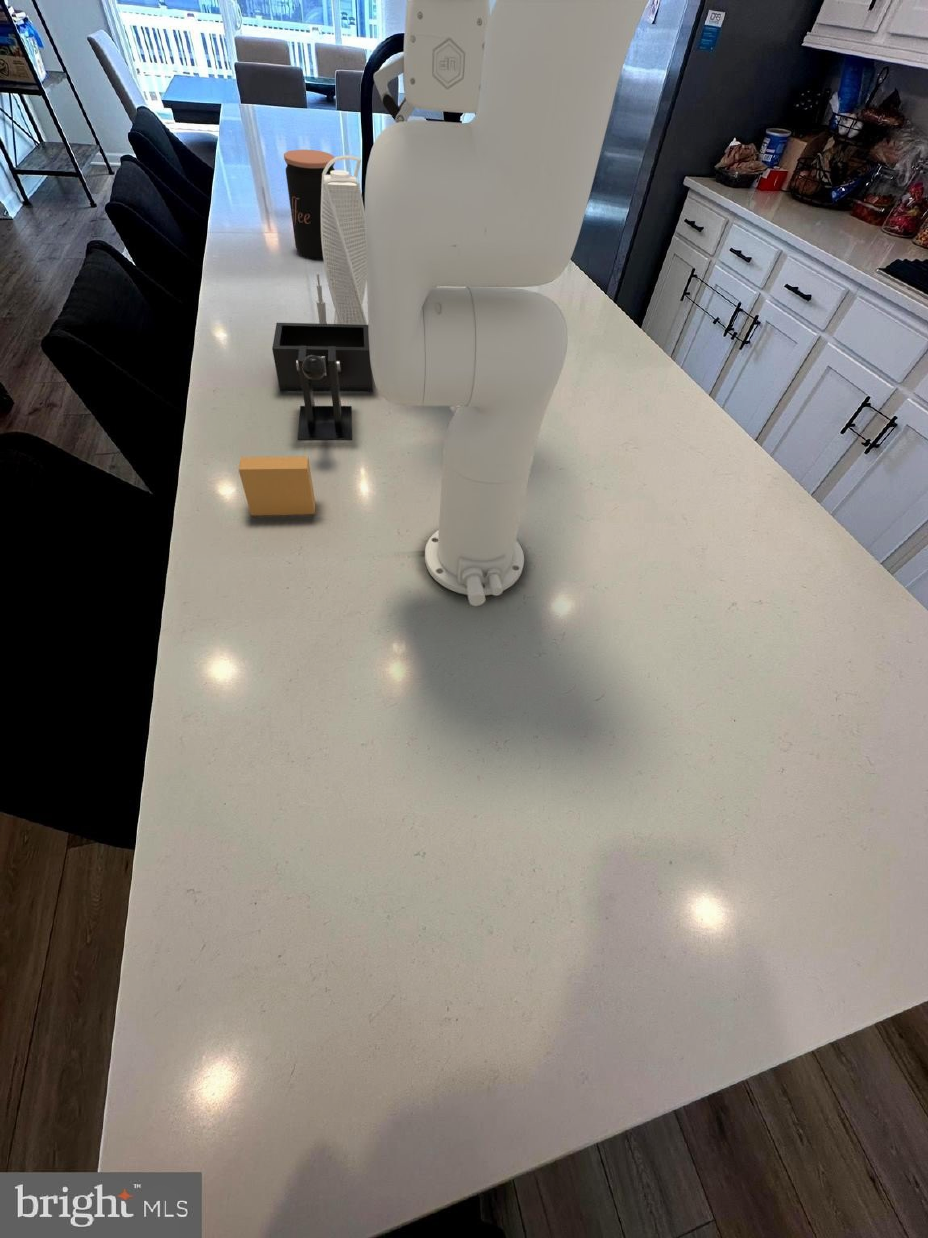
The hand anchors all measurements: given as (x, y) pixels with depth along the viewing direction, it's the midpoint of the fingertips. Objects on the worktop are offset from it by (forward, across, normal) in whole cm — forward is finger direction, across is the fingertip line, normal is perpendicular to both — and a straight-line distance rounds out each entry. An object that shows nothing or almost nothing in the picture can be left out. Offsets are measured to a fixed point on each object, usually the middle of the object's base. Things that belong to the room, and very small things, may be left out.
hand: (441, 166), depth 75 cm
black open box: (+31, -18, 0) cm, 35 cm away
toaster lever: (+20, -18, -18) cm, 33 cm away
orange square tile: (+31, -23, -34) cm, 51 cm away
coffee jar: (+31, -22, +60) cm, 71 cm away
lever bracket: (+31, -18, -14) cm, 38 cm away
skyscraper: (+31, -14, +12) cm, 36 cm away
